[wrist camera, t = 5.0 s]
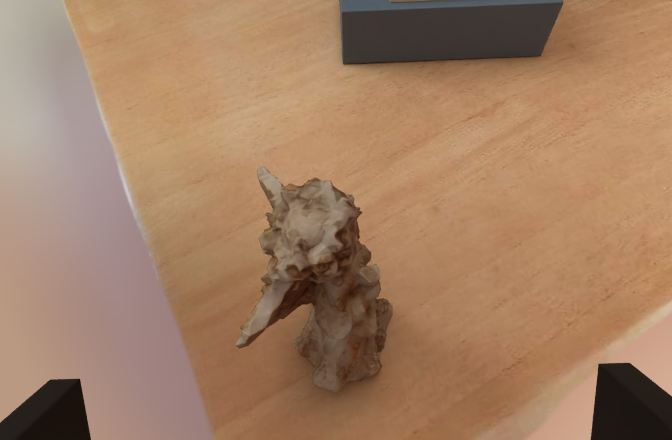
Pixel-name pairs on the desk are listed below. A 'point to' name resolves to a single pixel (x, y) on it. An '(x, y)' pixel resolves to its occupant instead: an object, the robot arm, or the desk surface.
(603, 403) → the robot arm
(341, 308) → the figurine
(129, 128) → the desk surface
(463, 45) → the couch
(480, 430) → the desk surface
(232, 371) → the desk surface
